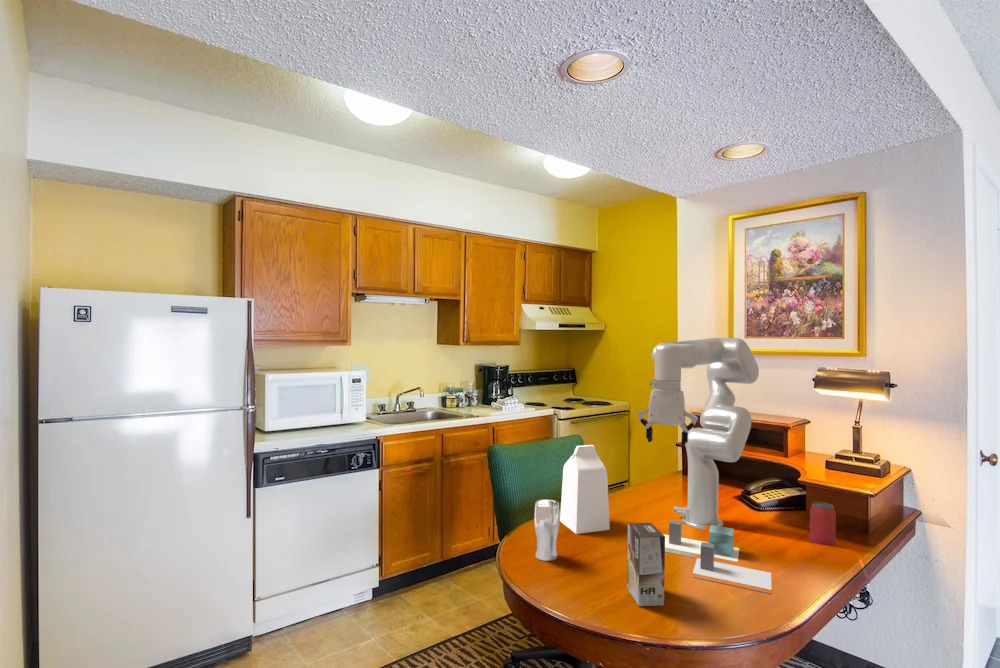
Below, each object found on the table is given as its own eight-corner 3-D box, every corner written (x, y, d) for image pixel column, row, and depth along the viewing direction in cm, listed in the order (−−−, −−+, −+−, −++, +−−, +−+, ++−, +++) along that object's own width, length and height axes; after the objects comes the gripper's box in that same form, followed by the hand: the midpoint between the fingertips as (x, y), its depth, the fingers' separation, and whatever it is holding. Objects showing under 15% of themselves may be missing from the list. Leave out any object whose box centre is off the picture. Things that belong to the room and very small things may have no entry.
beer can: (839, 549, 152) (839, 509, 152) (814, 547, 154) (815, 507, 154) (829, 540, 159) (830, 501, 159) (806, 538, 160) (806, 500, 160)
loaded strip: (654, 549, 150) (654, 524, 150) (660, 537, 159) (660, 514, 159) (737, 566, 140) (738, 539, 140) (739, 552, 149) (739, 527, 149)
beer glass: (561, 553, 147) (561, 500, 147) (555, 563, 140) (556, 508, 140) (537, 549, 149) (538, 497, 149) (530, 559, 143) (531, 505, 143)
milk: (576, 534, 161) (577, 450, 161) (559, 521, 172) (561, 443, 172) (609, 529, 165) (610, 448, 165) (591, 517, 176) (592, 441, 176)
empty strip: (692, 577, 133) (693, 549, 133) (697, 562, 142) (697, 536, 142) (771, 594, 124) (772, 565, 124) (771, 577, 133) (771, 549, 133)
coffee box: (665, 606, 119) (666, 536, 119) (638, 606, 119) (639, 537, 119) (650, 586, 128) (651, 522, 128) (625, 587, 128) (626, 522, 128)
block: (708, 553, 145) (709, 531, 145) (710, 545, 150) (711, 524, 150) (732, 557, 142) (732, 535, 142) (733, 549, 148) (733, 528, 147)
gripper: (635, 385, 155) (634, 442, 155) (696, 388, 147) (695, 449, 147) (640, 383, 161) (640, 437, 161) (699, 386, 153) (698, 444, 153)
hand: (666, 443), depth 154 cm, fingers open, 9 cm apart
